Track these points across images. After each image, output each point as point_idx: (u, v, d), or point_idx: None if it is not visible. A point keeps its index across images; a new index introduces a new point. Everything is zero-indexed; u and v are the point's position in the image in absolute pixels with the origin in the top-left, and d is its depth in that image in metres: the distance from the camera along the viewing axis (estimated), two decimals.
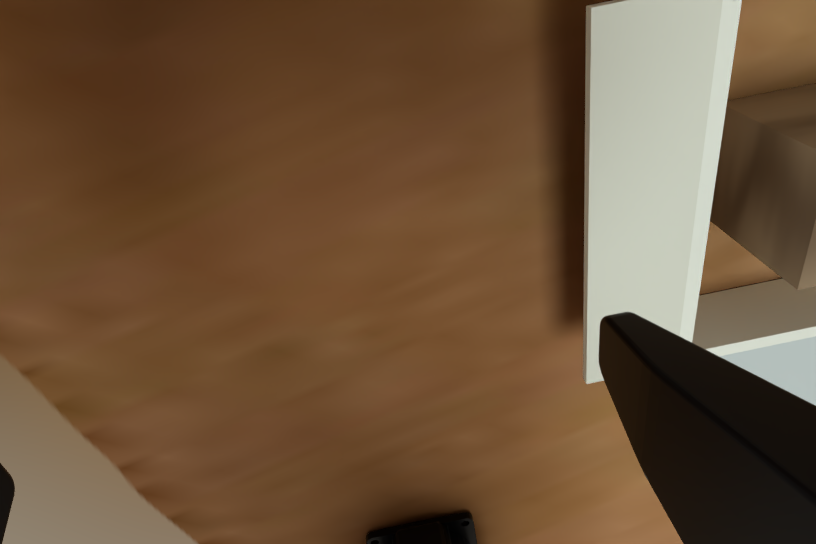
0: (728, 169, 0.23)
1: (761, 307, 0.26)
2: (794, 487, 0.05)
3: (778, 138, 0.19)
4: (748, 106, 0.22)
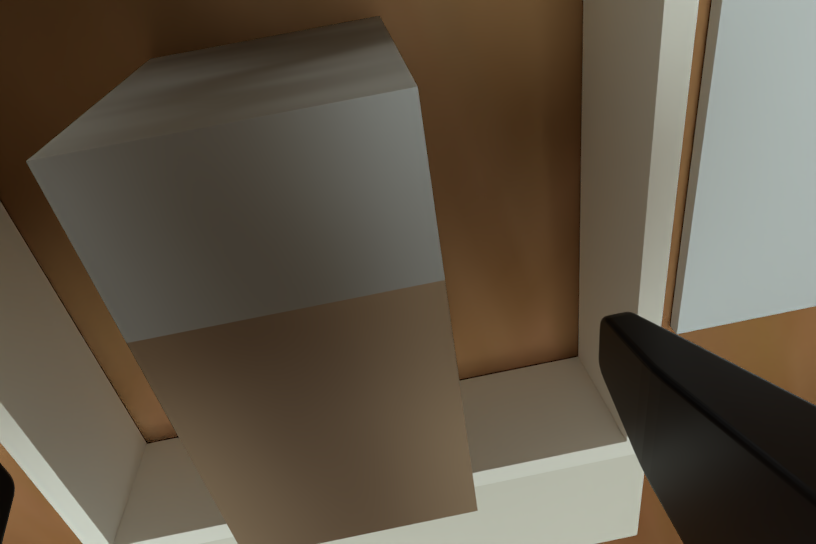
0: None
1: (604, 272, 0.15)
2: (794, 487, 0.05)
3: None
4: None
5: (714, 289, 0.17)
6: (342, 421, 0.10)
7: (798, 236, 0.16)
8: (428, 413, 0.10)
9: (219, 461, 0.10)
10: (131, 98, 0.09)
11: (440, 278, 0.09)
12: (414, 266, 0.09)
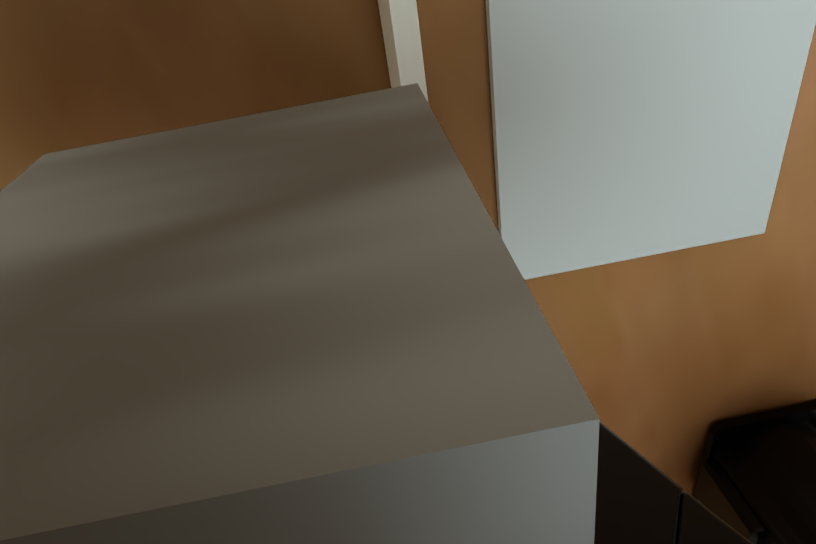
0: None
1: None
2: None
3: None
4: None
5: (529, 244, 0.20)
6: None
7: (594, 199, 0.19)
8: None
9: None
10: None
11: None
12: None
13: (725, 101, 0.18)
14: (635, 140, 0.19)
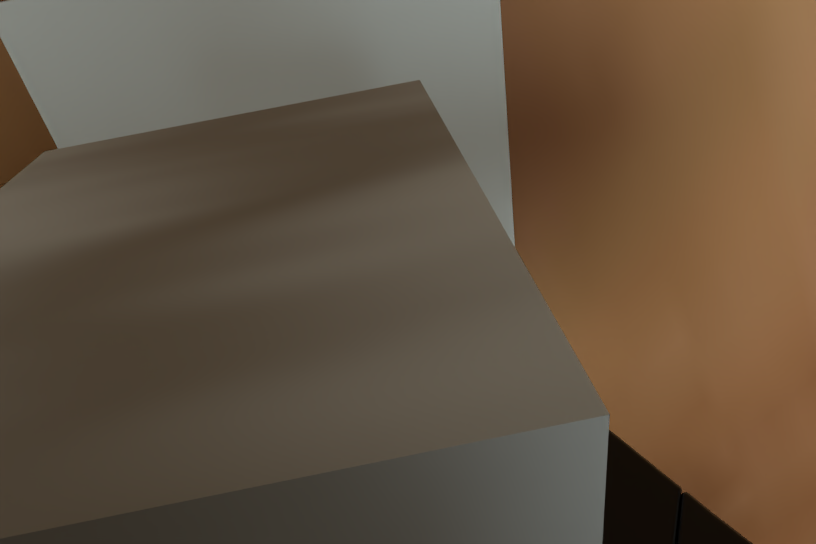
0: None
1: None
2: None
3: None
4: None
5: None
6: None
7: None
8: None
9: None
10: None
11: None
12: None
13: None
14: None
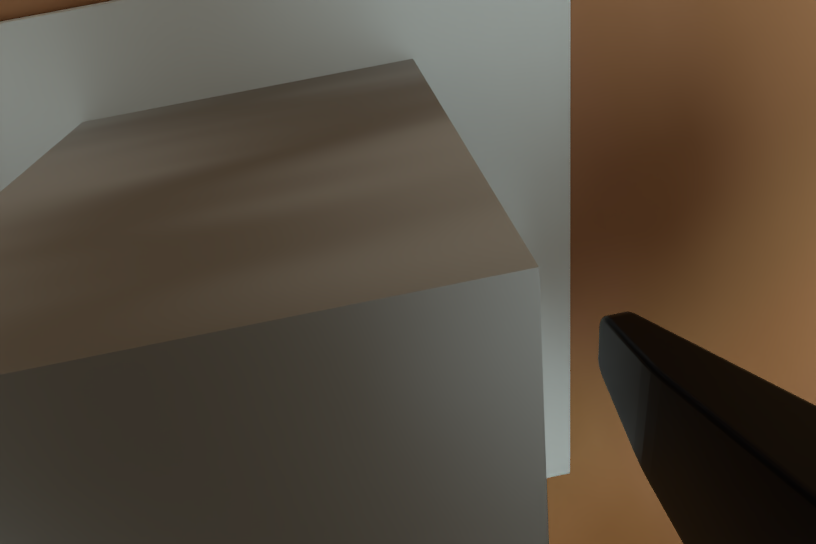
0: None
1: None
2: (794, 487, 0.05)
3: None
4: None
5: None
6: None
7: None
8: None
9: None
10: (13, 222, 0.05)
11: None
12: (498, 531, 0.05)
13: None
14: None
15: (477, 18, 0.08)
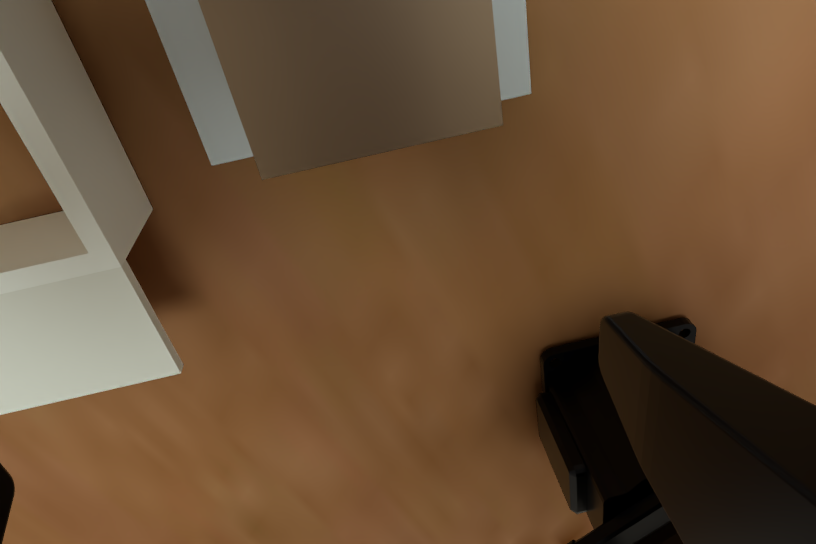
0: None
1: None
2: (794, 487, 0.05)
3: None
4: None
5: (225, 111, 0.16)
6: None
7: None
8: None
9: (230, 14, 0.10)
10: None
11: None
12: None
13: None
14: None
15: None
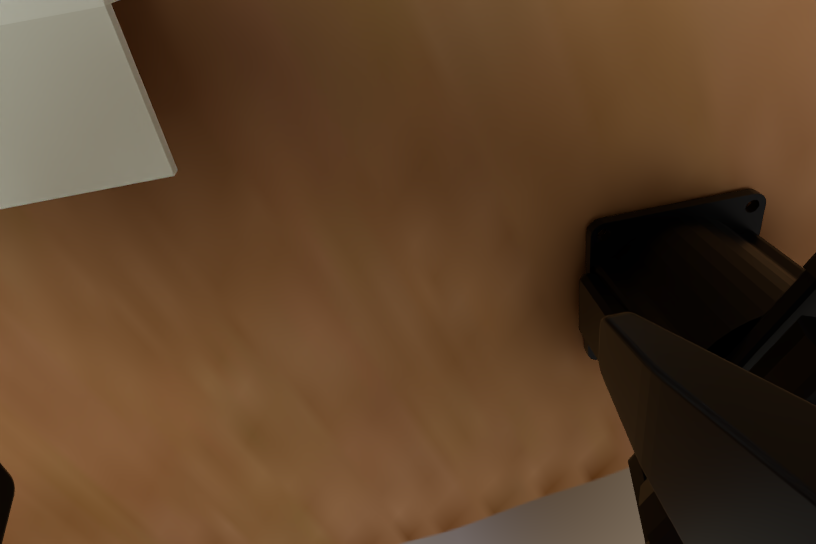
0: None
1: None
2: (794, 487, 0.05)
3: None
4: None
5: None
6: None
7: None
8: None
9: None
10: None
11: None
12: None
13: None
14: None
15: None
